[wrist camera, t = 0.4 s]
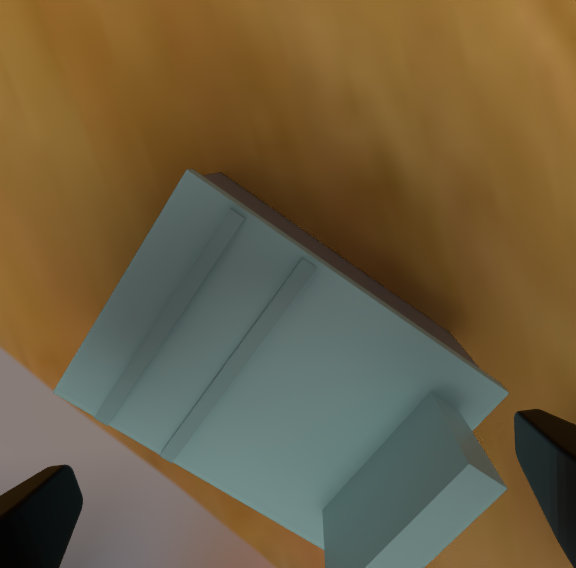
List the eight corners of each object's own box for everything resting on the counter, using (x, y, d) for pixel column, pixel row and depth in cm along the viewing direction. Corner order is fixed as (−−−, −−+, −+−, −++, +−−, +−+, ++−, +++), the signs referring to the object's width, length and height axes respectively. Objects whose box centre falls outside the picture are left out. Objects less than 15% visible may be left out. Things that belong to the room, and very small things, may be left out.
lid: (492, 373, 18) (573, 466, 12) (341, 533, 20) (354, 665, 15) (197, 168, 16) (144, 174, 10) (72, 373, 18) (-21, 461, 13)
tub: (450, 334, 22) (492, 383, 17) (334, 465, 24) (341, 541, 20) (220, 172, 20) (194, 177, 15) (119, 333, 22) (69, 381, 18)
